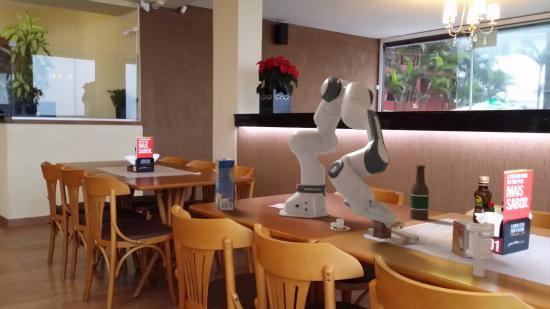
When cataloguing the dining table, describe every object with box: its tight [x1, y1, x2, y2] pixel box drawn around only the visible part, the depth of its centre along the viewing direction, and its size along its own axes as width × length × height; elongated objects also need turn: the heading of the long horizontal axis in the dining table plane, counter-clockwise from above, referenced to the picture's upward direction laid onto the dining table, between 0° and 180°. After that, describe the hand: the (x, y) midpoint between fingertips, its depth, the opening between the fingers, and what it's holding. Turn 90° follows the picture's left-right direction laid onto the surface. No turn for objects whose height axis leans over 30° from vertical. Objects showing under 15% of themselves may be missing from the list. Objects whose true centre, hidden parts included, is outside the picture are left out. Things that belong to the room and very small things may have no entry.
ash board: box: [367, 227, 420, 246], centre depth 175 cm, size 9×18×2 cm, turn 25°
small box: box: [451, 219, 482, 259], centre depth 153 cm, size 8×6×10 cm
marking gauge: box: [372, 220, 405, 240], centre depth 170 cm, size 12×4×9 cm, turn 115°
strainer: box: [466, 221, 495, 278], centre depth 132 cm, size 7×7×15 cm
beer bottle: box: [409, 164, 430, 221], centre depth 213 cm, size 8×8×24 cm
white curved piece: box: [329, 218, 351, 231], centre depth 191 cm, size 9×8×4 cm
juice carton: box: [214, 158, 236, 211], centre depth 234 cm, size 12×8×24 cm, turn 16°
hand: (383, 224), depth 168 cm, fingers closed on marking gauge, 4 cm apart
